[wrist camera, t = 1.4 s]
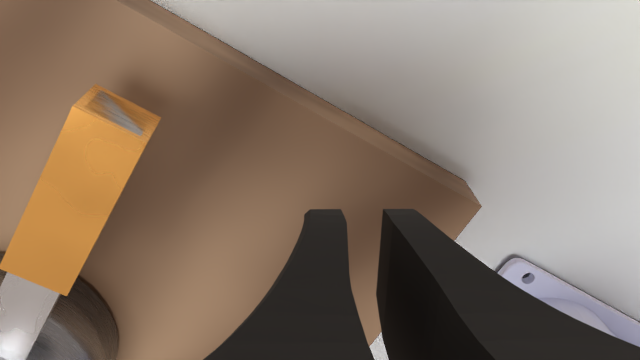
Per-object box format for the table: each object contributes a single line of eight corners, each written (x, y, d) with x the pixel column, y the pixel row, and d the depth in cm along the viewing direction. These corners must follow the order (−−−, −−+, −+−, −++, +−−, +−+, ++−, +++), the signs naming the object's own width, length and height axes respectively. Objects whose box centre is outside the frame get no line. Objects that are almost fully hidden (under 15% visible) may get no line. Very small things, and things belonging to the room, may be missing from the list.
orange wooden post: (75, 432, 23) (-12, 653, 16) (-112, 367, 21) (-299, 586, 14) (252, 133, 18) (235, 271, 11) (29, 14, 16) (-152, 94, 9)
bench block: (465, 181, 22) (481, 206, 20) (226, 489, 28) (222, 529, 26) (-61, -121, 17) (-103, -123, 15) (-205, 341, 23) (-247, 378, 21)
